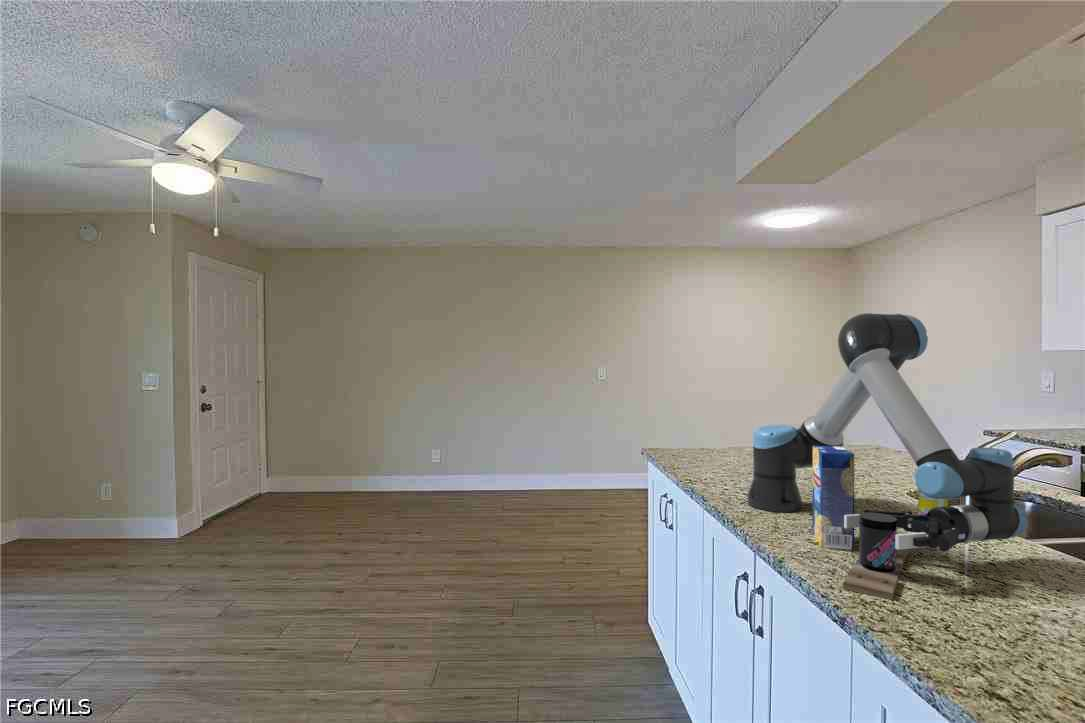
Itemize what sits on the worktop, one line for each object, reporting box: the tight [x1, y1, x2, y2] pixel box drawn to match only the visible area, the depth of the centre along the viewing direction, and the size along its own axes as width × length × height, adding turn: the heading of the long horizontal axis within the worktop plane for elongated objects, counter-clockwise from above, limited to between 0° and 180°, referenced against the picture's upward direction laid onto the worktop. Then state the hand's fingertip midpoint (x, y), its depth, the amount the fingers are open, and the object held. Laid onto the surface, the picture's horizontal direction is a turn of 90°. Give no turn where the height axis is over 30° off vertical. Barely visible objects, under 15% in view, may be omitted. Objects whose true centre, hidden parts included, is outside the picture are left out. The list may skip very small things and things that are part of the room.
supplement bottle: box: [917, 488, 949, 515], centre depth 153 cm, size 7×7×13 cm
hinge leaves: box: [842, 549, 907, 601], centre depth 116 cm, size 28×8×1 cm, turn 143°
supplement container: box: [858, 512, 898, 573], centre depth 116 cm, size 7×7×10 cm
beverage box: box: [812, 446, 855, 551], centre depth 134 cm, size 7×11×22 cm, turn 164°
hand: (869, 531), depth 115 cm, fingers open, 13 cm apart
